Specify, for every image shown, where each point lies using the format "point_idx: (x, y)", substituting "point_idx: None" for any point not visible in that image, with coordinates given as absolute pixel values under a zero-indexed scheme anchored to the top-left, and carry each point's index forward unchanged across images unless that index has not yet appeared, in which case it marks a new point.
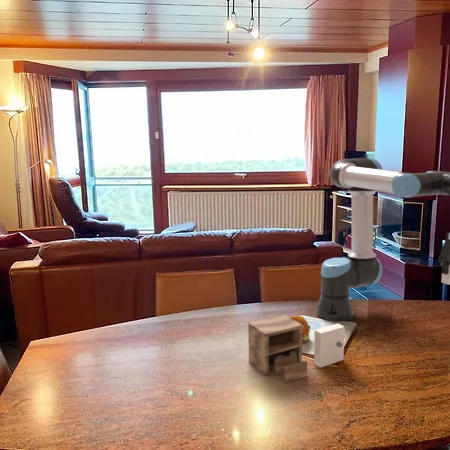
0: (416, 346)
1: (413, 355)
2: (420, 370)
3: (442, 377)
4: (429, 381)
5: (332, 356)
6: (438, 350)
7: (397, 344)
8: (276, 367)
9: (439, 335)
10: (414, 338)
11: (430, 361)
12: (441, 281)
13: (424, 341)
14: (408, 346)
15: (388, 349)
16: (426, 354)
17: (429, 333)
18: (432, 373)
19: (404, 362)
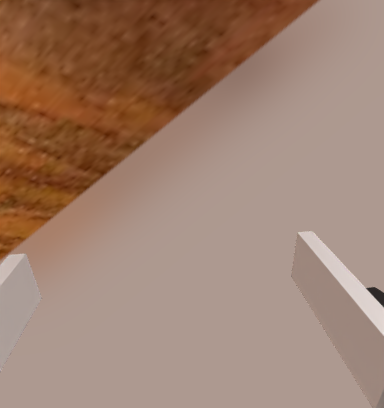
0: (121, 59)
1: (74, 96)
2: (38, 159)
3: (65, 200)
4: (25, 199)
5: None
6: (158, 109)
7: (76, 16)
8: None
9: (242, 41)
10: (157, 13)
11: (93, 140)
12: (5, 259)
13: (168, 47)
14: (99, 46)
15: (26, 28)
16: (111, 109)
17: (229, 12)
18: (56, 180)
19: (24, 112)
